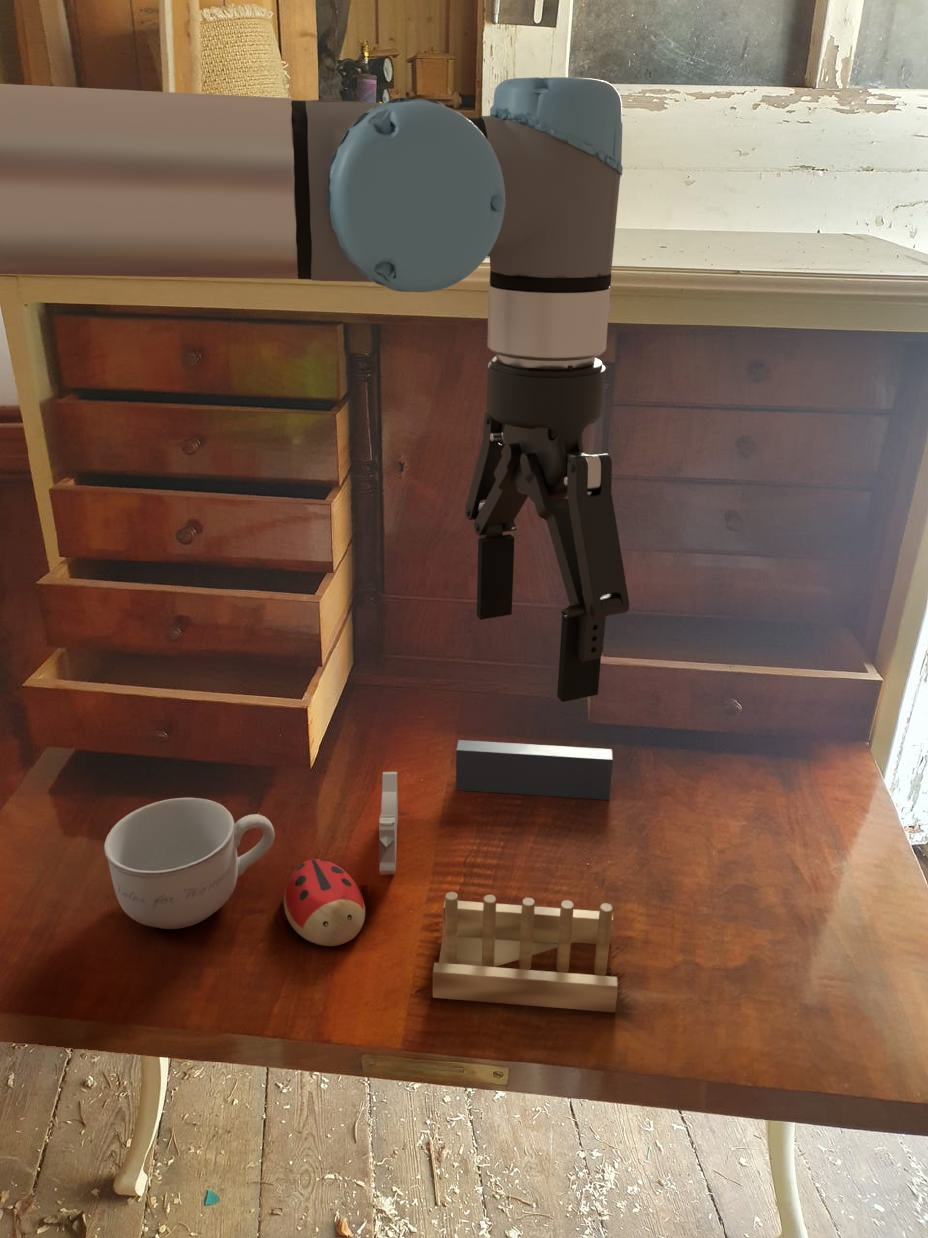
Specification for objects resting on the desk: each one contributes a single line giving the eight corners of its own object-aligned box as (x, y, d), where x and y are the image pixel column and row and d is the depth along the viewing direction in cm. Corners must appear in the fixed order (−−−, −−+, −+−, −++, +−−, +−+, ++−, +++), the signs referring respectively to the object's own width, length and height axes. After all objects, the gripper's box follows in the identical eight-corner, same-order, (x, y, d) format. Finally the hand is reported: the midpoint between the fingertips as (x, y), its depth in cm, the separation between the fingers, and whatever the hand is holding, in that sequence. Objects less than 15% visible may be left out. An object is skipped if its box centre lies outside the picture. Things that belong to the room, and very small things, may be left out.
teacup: (107, 954, 80) (92, 878, 76) (127, 868, 89) (115, 797, 86) (277, 936, 82) (271, 861, 78) (279, 854, 91) (273, 784, 88)
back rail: (455, 790, 101) (456, 750, 99) (457, 779, 103) (458, 739, 101) (609, 800, 100) (612, 759, 98) (608, 789, 102) (612, 749, 99)
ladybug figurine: (307, 962, 79) (304, 929, 78) (269, 889, 87) (266, 858, 85) (381, 935, 82) (380, 903, 81) (339, 867, 90) (337, 836, 88)
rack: (432, 1010, 75) (432, 932, 72) (444, 935, 82) (444, 861, 79) (613, 1025, 74) (622, 946, 70) (609, 948, 81) (616, 873, 78)
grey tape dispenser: (397, 818, 97) (394, 885, 88) (384, 819, 97) (379, 885, 88) (397, 770, 94) (393, 834, 85) (382, 770, 94) (378, 834, 85)
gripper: (713, 392, 52) (672, 726, 61) (515, 324, 73) (506, 581, 82) (592, 403, 50) (568, 750, 59) (422, 329, 70) (424, 594, 79)
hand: (532, 652), depth 70 cm, fingers open, 13 cm apart
